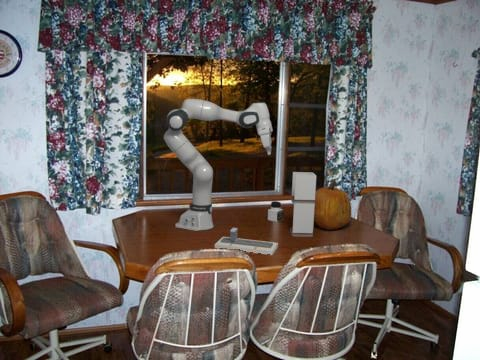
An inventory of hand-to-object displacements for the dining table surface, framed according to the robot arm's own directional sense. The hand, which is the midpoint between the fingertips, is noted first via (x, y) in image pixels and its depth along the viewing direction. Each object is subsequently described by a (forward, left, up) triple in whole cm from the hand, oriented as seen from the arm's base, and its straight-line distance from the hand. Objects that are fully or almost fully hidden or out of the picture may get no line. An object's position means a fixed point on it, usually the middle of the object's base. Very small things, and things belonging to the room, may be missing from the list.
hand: (269, 153), depth 260 cm
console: (-2, -39, -45) cm, 59 cm away
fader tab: (-9, -39, -43) cm, 58 cm away
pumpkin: (+35, +16, -45) cm, 59 cm away
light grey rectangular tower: (+21, -4, -45) cm, 50 cm away
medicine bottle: (+1, +20, -45) cm, 50 cm away
